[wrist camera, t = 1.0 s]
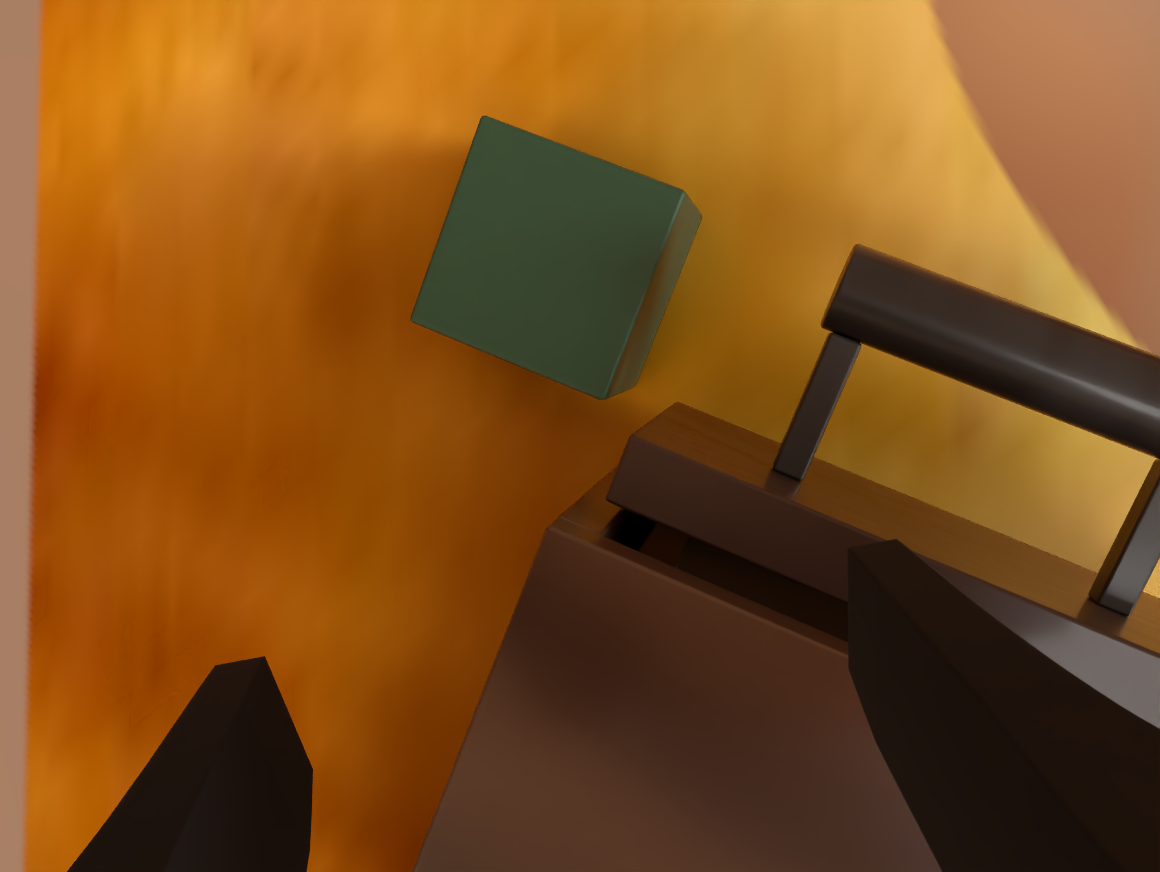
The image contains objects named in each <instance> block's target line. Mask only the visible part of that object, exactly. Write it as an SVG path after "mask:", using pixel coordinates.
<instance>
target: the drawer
mask: <svg viewBox="0 0 1160 872" xmlns="http://www.w3.org/2000/svg"><path fill="white" fill-rule="evenodd" d="M821 327H822V328H823V329H826V330H828V331H831V332H834V333H829V334H828V336H827V338H826V340H825V343H824V345H823V347H822V350H821V352H820V354H819V357H818V359H817V361H816V364H815V366H814V368H813V371H812V373H811V375H810V378H809V380H808V382H807V385H806V387H805V389H804V392H803V394H802V396H801V399H800V401H799V403H798V406H797V408H796V410H795V413H794V415H793V417H792V420H791V422H790V424H789V427H788V429H787V431H786V434H785V436H784V438H783V441H782V443H781V444H780V443H777V442H775V441H773V440H770V439H768V438H765V437H763V436H760V435H758V434H755V433H753V432H751V431H748V430H746V429H743V428H741V427H738V426H736V425H733V424H731V423H728V422H726V421H724V420H721V419H719V418H716V417H714V416H711V415H709V414H706V413H704V412H702V411H699V410H697V409H694V408H692V407H689V406H687V405H684V404H682V403H679V402H676V403H674V404H673V405H672V406H670V407H669V408H668V409H666V410H665V411H663V412H662V413H661V414H659V415H658V416H657V417H655V418H654V419H653V420H651V421H650V422H649V423H647V424H646V425H644V426H643V427H642V428H640V429H639V430H638V431H636V432H635V433H634V434H632V435H631V436H630V437H629V439H628V442H627V444H626V447H625V449H624V452H623V454H622V457H621V459H620V462H619V464H618V467H617V469H616V472H615V474H614V477H613V479H612V482H611V484H610V487H609V489H608V492H607V494H606V500H607V501H608V502H609V503H612V504H614V505H616V506H619V507H621V508H623V509H626V510H628V511H630V512H633V513H635V514H637V515H640V516H642V517H644V518H647V519H649V520H651V521H654V522H656V524H655V525H654V527H653V529H652V530H651V532H650V533H649V535H648V537H647V538H646V540H645V541H644V543H643V545H642V546H641V548H640V549H639V551H638V552H641V553H643V554H645V555H648V556H650V557H652V558H654V559H657V560H659V561H661V562H664V563H666V564H668V565H671V566H673V567H675V568H678V569H680V570H682V571H684V572H687V573H689V574H691V575H694V576H696V577H698V578H701V579H703V580H705V581H708V582H710V583H712V584H715V585H717V586H719V587H721V588H724V589H726V590H728V591H731V592H733V593H735V594H738V595H740V596H742V597H745V598H747V599H749V600H751V601H754V602H756V603H758V604H761V605H763V606H765V607H768V608H770V609H772V610H775V611H777V612H779V613H781V614H784V615H786V616H788V617H791V618H793V619H795V620H798V621H800V622H802V623H805V624H807V625H809V626H812V627H814V628H816V629H818V630H821V631H823V632H825V633H828V634H830V635H832V636H835V637H837V638H839V639H842V640H844V641H846V642H848V548H850V547H855V546H860V545H866V544H871V543H876V542H882V541H887V540H893V539H898V540H899V541H900V542H902V543H903V544H904V545H906V546H907V547H908V548H909V549H911V550H912V551H913V552H914V553H916V554H917V555H918V556H919V557H920V558H922V559H923V560H924V561H925V562H927V563H928V564H929V565H930V566H931V567H933V568H934V569H935V570H936V571H938V572H939V573H940V574H941V575H942V576H944V577H945V578H946V579H947V580H949V581H950V582H951V583H952V584H953V585H955V586H956V587H957V588H958V589H960V590H961V591H962V592H963V593H965V594H966V595H967V596H968V597H970V598H971V599H972V600H973V601H975V602H976V603H977V604H978V605H980V606H981V607H982V608H984V609H985V610H986V611H987V612H989V613H990V614H991V615H993V616H994V617H995V618H996V619H998V620H999V621H1000V622H1002V623H1003V624H1004V625H1006V626H1007V627H1008V628H1010V629H1011V630H1012V631H1014V632H1015V633H1017V634H1018V635H1019V636H1021V637H1022V638H1023V639H1025V640H1026V641H1027V642H1029V643H1030V644H1031V645H1033V646H1034V647H1035V648H1037V649H1038V650H1039V651H1041V652H1042V653H1043V654H1045V655H1046V656H1048V657H1049V658H1051V659H1052V660H1053V661H1055V662H1056V663H1058V664H1059V665H1060V666H1062V667H1063V668H1065V669H1066V670H1068V671H1069V672H1070V673H1072V674H1073V675H1075V676H1076V677H1078V678H1079V679H1081V680H1082V681H1084V682H1085V683H1087V684H1088V685H1090V686H1091V687H1093V688H1094V689H1096V690H1097V691H1099V692H1100V693H1102V694H1103V695H1105V696H1106V697H1108V698H1109V699H1111V700H1113V701H1114V702H1116V703H1117V704H1119V705H1121V706H1122V707H1124V708H1125V709H1127V710H1129V711H1130V712H1132V713H1134V714H1135V715H1137V716H1138V717H1140V718H1142V719H1144V720H1145V721H1147V722H1149V723H1151V724H1152V725H1154V726H1156V727H1158V728H1159V729H1160V598H1157V597H1155V596H1152V595H1150V594H1147V593H1145V592H1142V591H1143V589H1144V587H1145V585H1146V583H1147V582H1148V580H1149V578H1150V576H1151V574H1152V572H1153V570H1154V568H1155V566H1156V564H1157V562H1158V560H1159V558H1160V357H1159V356H1157V355H1154V354H1152V353H1149V352H1146V351H1144V350H1141V349H1138V348H1136V347H1133V346H1130V345H1128V344H1125V343H1122V342H1120V341H1117V340H1114V339H1112V338H1109V337H1106V336H1104V335H1101V334H1098V333H1096V332H1093V331H1090V330H1088V329H1085V328H1082V327H1080V326H1077V325H1074V324H1072V323H1069V322H1066V321H1064V320H1061V319H1058V318H1056V317H1053V316H1050V315H1048V314H1045V313H1042V312H1040V311H1037V310H1034V309H1032V308H1029V307H1026V306H1024V305H1021V304H1018V303H1016V302H1013V301H1010V300H1008V299H1005V298H1002V297H1000V296H997V295H994V294H992V293H989V292H986V291H984V290H981V289H978V288H976V287H973V286H970V285H968V284H965V283H962V282H960V281H957V280H954V279H952V278H949V277H946V276H944V275H941V274H938V273H936V272H933V271H930V270H928V269H925V268H922V267H920V266H917V265H914V264H912V263H909V262H906V261H904V260H901V259H898V258H896V257H893V256H890V255H887V254H885V253H882V252H879V251H877V250H874V249H871V248H869V247H866V246H863V245H861V244H856V245H855V246H854V247H853V249H852V251H851V253H850V255H849V257H848V259H847V261H846V263H845V266H844V268H843V270H842V272H841V275H840V277H839V279H838V281H837V284H836V286H835V288H834V291H833V293H832V296H831V298H830V300H829V303H828V305H827V308H826V310H825V313H824V316H823V318H822V321H821ZM860 343H862V344H864V345H867V346H870V347H872V348H875V349H877V350H880V351H882V352H885V353H888V354H890V355H893V356H895V357H898V358H900V359H903V360H906V361H908V362H911V363H913V364H916V365H918V366H921V367H924V368H926V369H929V370H931V371H934V372H936V373H939V374H942V375H944V376H947V377H949V378H952V379H954V380H957V381H960V382H962V383H965V384H967V385H970V386H972V387H975V388H978V389H980V390H983V391H985V392H988V393H990V394H993V395H996V396H998V397H1001V398H1003V399H1006V400H1008V401H1011V402H1014V403H1016V404H1019V405H1021V406H1024V407H1026V408H1029V409H1032V410H1034V411H1037V412H1039V413H1042V414H1044V415H1047V416H1050V417H1052V418H1055V419H1057V420H1060V421H1062V422H1065V423H1068V424H1070V425H1073V426H1075V427H1078V428H1080V429H1083V430H1086V431H1088V432H1091V433H1093V434H1096V435H1098V436H1101V437H1104V438H1106V439H1109V440H1111V441H1114V442H1116V443H1119V444H1122V445H1124V446H1127V447H1129V448H1132V449H1134V450H1137V451H1139V452H1142V453H1145V454H1147V455H1150V456H1152V457H1155V458H1157V459H1156V460H1155V461H1154V463H1153V465H1152V467H1151V469H1150V471H1149V473H1148V475H1147V477H1146V479H1145V481H1144V483H1143V485H1142V487H1141V489H1140V491H1139V493H1138V495H1137V497H1136V499H1135V501H1134V503H1133V505H1132V507H1131V509H1130V511H1129V513H1128V515H1127V517H1126V519H1125V521H1124V523H1123V525H1122V527H1121V529H1120V531H1119V533H1118V535H1117V537H1116V539H1115V541H1114V543H1113V545H1112V547H1111V549H1110V551H1109V553H1108V555H1107V557H1106V559H1105V561H1104V563H1103V565H1102V567H1101V569H1100V571H1099V573H1096V572H1093V571H1091V570H1089V569H1086V568H1084V567H1081V566H1079V565H1076V564H1074V563H1071V562H1069V561H1067V560H1064V559H1062V558H1059V557H1057V556H1054V555H1052V554H1049V553H1047V552H1044V551H1042V550H1040V549H1037V548H1035V547H1032V546H1030V545H1027V544H1025V543H1022V542H1020V541H1018V540H1015V539H1013V538H1010V537H1008V536H1005V535H1003V534H1000V533H998V532H995V531H993V530H991V529H988V528H986V527H983V526H981V525H978V524H976V523H973V522H971V521H969V520H966V519H964V518H961V517H959V516H956V515H954V514H951V513H949V512H946V511H944V510H942V509H939V508H937V507H934V506H932V505H929V504H927V503H924V502H922V501H920V500H917V499H915V498H912V497H910V496H907V495H905V494H902V493H900V492H897V491H895V490H893V489H890V488H888V487H885V486H883V485H880V484H878V483H875V482H873V481H871V480H868V479H866V478H863V477H861V476H858V475H856V474H853V473H851V472H849V471H846V470H844V469H841V468H839V467H836V466H834V465H831V464H829V463H826V462H824V461H822V460H819V459H817V458H814V454H815V452H816V450H817V448H818V445H819V443H820V441H821V438H822V436H823V434H824V432H825V429H826V427H827V425H828V422H829V420H830V418H831V415H832V413H833V411H834V409H835V406H836V404H837V402H838V399H839V397H840V395H841V392H842V390H843V388H844V386H845V383H846V381H847V379H848V376H849V374H850V372H851V370H852V367H853V365H854V363H855V360H856V358H857V356H858V353H859V351H860V349H861V344H860Z"/></svg>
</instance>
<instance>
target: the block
mask: <svg viewBox="0 0 1160 872" xmlns="http://www.w3.org/2000/svg"><path fill="white" fill-rule="evenodd" d="M701 219H702V215H701V213H700V212H699V211H698V209H697V208H696V206H695V205H694V204H693V202H692V201H691V200H690V198H689V197H688V195H687V194H686V193H685V192H684V191H683V190H682V189H679V188H676V187H674V186H671V185H668V184H666V183H663V182H660V181H658V180H655V179H653V178H650V177H647V176H645V175H642V174H639V173H637V172H634V171H631V170H629V169H626V168H623V167H621V166H618V165H615V164H613V163H610V162H607V161H605V160H602V159H599V158H597V157H594V156H591V155H589V154H586V153H583V152H581V151H578V150H576V149H573V148H570V147H568V146H565V145H562V144H560V143H557V142H554V141H552V140H549V139H546V138H544V137H541V136H538V135H536V134H533V133H530V132H528V131H525V130H522V129H520V128H517V127H514V126H512V125H509V124H506V123H504V122H501V121H499V120H496V119H493V118H491V117H488V116H482V117H481V119H480V121H479V124H478V127H477V130H476V133H475V136H474V138H473V141H472V144H471V147H470V150H469V153H468V156H467V158H466V161H465V164H464V167H463V170H462V173H461V175H460V178H459V181H458V184H457V187H456V190H455V192H454V195H453V198H452V201H451V204H450V207H449V210H448V212H447V215H446V218H445V221H444V224H443V227H442V229H441V232H440V235H439V238H438V241H437V244H436V246H435V249H434V252H433V255H432V258H431V261H430V264H429V266H428V269H427V272H426V275H425V278H424V281H423V283H422V286H421V289H420V292H419V295H418V298H417V300H416V303H415V306H414V309H413V312H412V315H411V319H410V320H411V321H412V322H413V323H415V324H417V325H420V326H422V327H425V328H427V329H430V330H432V331H434V332H437V333H439V334H442V335H444V336H446V337H449V338H451V339H454V340H456V341H459V342H461V343H463V344H466V345H468V346H471V347H473V348H476V349H478V350H480V351H483V352H485V353H488V354H490V355H493V356H495V357H497V358H500V359H502V360H505V361H507V362H509V363H512V364H514V365H517V366H519V367H522V368H524V369H526V370H529V371H531V372H534V373H536V374H539V375H541V376H543V377H546V378H548V379H551V380H553V381H556V382H558V383H560V384H563V385H565V386H568V387H570V388H572V389H575V390H577V391H580V392H582V393H585V394H587V395H589V396H592V397H594V398H597V399H599V400H605V399H607V398H610V397H612V396H614V395H617V394H619V393H621V392H624V391H626V390H628V389H631V388H633V387H634V386H635V385H636V383H637V380H638V378H639V375H640V373H641V370H642V367H643V365H644V362H645V360H646V357H647V355H648V352H649V350H650V347H651V345H652V342H653V340H654V337H655V335H656V332H657V330H658V327H659V325H660V322H661V320H662V317H663V315H664V312H665V310H666V307H667V305H668V302H669V300H670V297H671V294H672V292H673V289H674V287H675V284H676V282H677V279H678V277H679V274H680V272H681V269H682V267H683V264H684V262H685V259H686V257H687V254H688V252H689V249H690V247H691V244H692V242H693V239H694V237H695V234H696V232H697V229H698V227H699V224H700V222H701Z"/></svg>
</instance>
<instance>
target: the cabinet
mask: <svg viewBox="0 0 1160 872" xmlns="http://www.w3.org/2000/svg"><path fill="white" fill-rule="evenodd" d="M617 467H618V466H617ZM617 467H616V468H614V469H613V470H612V471H611V472H610V473H609V474H607V475H606V476H605V477H604V478H603V479H602V480H600V481H599V482H598V483H597V484H596V485H595V486H593V487H592V488H591V489H590V490H589V491H588V492H587V493H585V494H584V495H583V496H582V497H581V498H580V499H578V500H577V501H576V502H575V503H574V504H573V505H571V506H570V507H569V508H568V509H567V510H566V511H564V512H563V513H562V514H561V515H560V516H559V517H558V518H557V519H556V520H555V521H553V522H552V523H551V524H550V525H549V526H548V527H547V528H546V530H545V532H544V535H543V538H542V540H541V543H540V545H539V548H538V550H537V553H536V555H535V558H534V561H533V563H532V566H531V568H530V571H529V573H528V576H527V578H526V581H525V584H524V586H523V589H522V591H521V594H520V596H519V599H518V601H517V604H516V607H515V609H514V612H513V614H512V617H511V619H510V622H509V624H508V627H507V630H506V632H505V635H504V637H503V640H502V642H501V645H500V647H499V650H498V653H497V655H496V658H495V660H494V663H493V665H492V668H491V670H490V673H489V676H488V678H487V681H486V683H485V686H484V688H483V691H482V693H481V696H480V699H479V701H478V704H477V706H476V709H475V711H474V714H473V716H472V719H471V722H470V724H469V727H468V729H467V732H466V734H465V737H464V739H463V742H462V745H461V747H460V750H459V752H458V755H457V757H456V760H455V762H454V765H453V768H452V770H451V773H450V775H449V778H448V780H447V783H446V785H445V788H444V791H443V793H442V796H441V798H440V801H439V803H438V806H437V808H436V811H435V814H434V816H433V819H432V821H431V824H430V826H429V829H428V831H427V834H426V837H425V839H424V842H423V844H422V847H421V849H420V852H419V854H418V857H417V860H416V862H415V865H414V867H413V870H412V872H942V870H941V868H940V867H939V865H938V863H937V861H936V859H935V857H934V855H933V853H932V851H931V849H930V847H929V845H928V843H927V841H926V840H925V838H924V836H923V834H922V832H921V830H920V828H919V826H918V824H917V822H916V820H915V818H914V816H913V815H912V813H911V811H910V809H909V807H908V805H907V803H906V801H905V799H904V797H903V795H902V793H901V791H900V789H899V787H898V785H897V783H896V781H895V780H894V778H893V776H892V774H891V772H890V770H889V768H888V766H887V764H886V762H885V760H884V758H883V756H882V754H881V752H880V750H879V748H878V746H877V744H876V742H875V739H874V736H873V734H872V731H871V729H870V726H869V723H868V721H867V718H866V716H865V713H864V710H863V708H862V705H861V702H860V699H859V697H858V694H857V691H856V688H855V686H854V683H853V680H852V677H851V674H850V672H849V669H848V642H846V641H844V640H842V639H839V638H837V637H835V636H832V635H830V634H828V633H825V632H823V631H821V630H818V629H816V628H814V627H812V626H809V625H807V624H805V623H802V622H800V621H798V620H795V619H793V618H791V617H788V616H786V615H784V614H781V613H779V612H777V611H775V610H772V609H770V608H768V607H765V606H763V605H761V604H758V603H756V602H754V601H751V600H749V599H747V598H745V597H742V596H740V595H738V594H735V593H733V592H731V591H728V590H726V589H724V588H721V587H719V586H717V585H715V584H712V583H710V582H708V581H705V580H703V579H701V578H698V577H696V576H694V575H691V574H689V573H687V572H684V571H682V570H680V569H678V568H675V567H673V566H671V565H668V564H666V563H664V562H661V561H659V560H657V559H654V558H652V557H650V556H648V555H645V554H643V553H641V552H638V551H639V549H640V548H641V546H642V545H643V543H644V541H645V540H646V538H647V537H648V535H649V533H650V532H651V530H652V529H653V527H654V525H655V524H656V522H654V521H651V520H649V519H647V518H644V517H642V516H640V515H637V514H635V513H633V512H630V511H628V510H626V509H623V508H621V507H619V506H616V505H614V504H612V503H609V502H608V501H607V500H606V494H607V492H608V489H609V487H610V484H611V482H612V479H613V477H614V474H615V472H616V469H617Z"/></svg>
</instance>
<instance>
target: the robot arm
mask: <svg viewBox="0 0 1160 872" xmlns="http://www.w3.org/2000/svg"><path fill="white" fill-rule="evenodd" d="M848 669H849V672H850V674H851V677H852V680H853V683H854V686H855V688H856V691H857V694H858V697H859V699H860V702H861V705H862V708H863V710H864V713H865V716H866V718H867V721H868V723H869V726H870V729H871V731H872V734H873V736H874V739H875V742H876V744H877V746H878V748H879V750H880V752H881V754H882V756H883V758H884V760H885V762H886V764H887V766H888V768H889V770H890V772H891V774H892V776H893V778H894V780H895V781H896V783H897V785H898V787H899V789H900V791H901V793H902V795H903V797H904V799H905V801H906V803H907V805H908V807H909V809H910V811H911V813H912V815H913V816H914V818H915V820H916V822H917V824H918V826H919V828H920V830H921V832H922V834H923V836H924V838H925V840H926V841H927V843H928V845H929V847H930V849H931V851H932V853H933V855H934V857H935V859H936V861H937V863H938V865H939V867H940V868H941V870H942V872H1160V729H1159V728H1158V727H1156V726H1154V725H1152V724H1151V723H1149V722H1147V721H1145V720H1144V719H1142V718H1140V717H1138V716H1137V715H1135V714H1134V713H1132V712H1130V711H1129V710H1127V709H1125V708H1124V707H1122V706H1121V705H1119V704H1117V703H1116V702H1114V701H1113V700H1111V699H1109V698H1108V697H1106V696H1105V695H1103V694H1102V693H1100V692H1099V691H1097V690H1096V689H1094V688H1093V687H1091V686H1090V685H1088V684H1087V683H1085V682H1084V681H1082V680H1081V679H1079V678H1078V677H1076V676H1075V675H1073V674H1072V673H1070V672H1069V671H1068V670H1066V669H1065V668H1063V667H1062V666H1060V665H1059V664H1058V663H1056V662H1055V661H1053V660H1052V659H1051V658H1049V657H1048V656H1046V655H1045V654H1043V653H1042V652H1041V651H1039V650H1038V649H1037V648H1035V647H1034V646H1033V645H1031V644H1030V643H1029V642H1027V641H1026V640H1025V639H1023V638H1022V637H1021V636H1019V635H1018V634H1017V633H1015V632H1014V631H1012V630H1011V629H1010V628H1008V627H1007V626H1006V625H1004V624H1003V623H1002V622H1000V621H999V620H998V619H996V618H995V617H994V616H993V615H991V614H990V613H989V612H987V611H986V610H985V609H984V608H982V607H981V606H980V605H978V604H977V603H976V602H975V601H973V600H972V599H971V598H970V597H968V596H967V595H966V594H965V593H963V592H962V591H961V590H960V589H958V588H957V587H956V586H955V585H953V584H952V583H951V582H950V581H949V580H947V579H946V578H945V577H944V576H942V575H941V574H940V573H939V572H938V571H936V570H935V569H934V568H933V567H931V566H930V565H929V564H928V563H927V562H925V561H924V560H923V559H922V558H920V557H919V556H918V555H917V554H916V553H914V552H913V551H912V550H911V549H909V548H908V547H907V546H906V545H904V544H903V543H902V542H900V541H899V540H898V539H893V540H887V541H882V542H876V543H871V544H866V545H860V546H855V547H850V548H848ZM312 783H313V768H312V766H311V764H310V761H309V759H308V757H307V754H306V752H305V750H304V747H303V745H302V743H301V740H300V738H299V736H298V733H297V731H296V728H295V726H294V724H293V721H292V719H291V717H290V714H289V712H288V710H287V707H286V705H285V703H284V700H283V698H282V696H281V693H280V691H279V689H278V686H277V684H276V682H275V679H274V677H273V674H272V672H271V670H270V667H269V665H268V663H267V660H266V658H265V656H264V657H258V658H253V659H248V660H242V661H237V662H231V663H226V664H221V665H215V667H214V668H213V669H212V671H211V672H210V673H209V675H208V676H207V678H206V679H205V680H204V682H203V683H202V685H201V686H200V688H199V689H198V690H197V692H196V693H195V695H194V696H193V698H192V699H191V701H190V702H189V703H188V705H187V706H186V708H185V709H184V711H183V712H182V714H181V715H180V717H179V718H178V720H177V721H176V723H175V724H174V726H173V727H172V728H171V730H170V731H169V733H168V734H167V736H166V737H165V739H164V740H163V742H162V743H161V745H160V746H159V747H158V749H157V750H156V752H155V753H154V755H153V756H152V758H151V759H150V761H149V762H148V763H147V765H146V766H145V768H144V769H143V770H142V772H141V773H140V775H139V776H138V777H137V779H136V780H135V782H134V783H133V784H132V786H131V787H130V789H129V790H128V791H127V793H126V794H125V796H124V797H123V798H122V800H121V801H120V803H119V804H118V805H117V807H116V808H115V810H114V811H113V812H112V814H111V815H110V817H109V818H108V819H107V821H106V822H105V823H104V825H103V826H102V827H101V829H100V830H99V831H98V833H97V834H96V835H95V837H94V838H93V839H92V840H91V842H90V843H89V844H88V846H87V847H86V848H85V849H84V851H83V852H82V853H81V854H80V856H79V857H78V858H77V860H76V861H75V862H74V863H73V865H72V866H71V867H70V869H69V870H68V871H67V872H307V865H308V859H309V852H310V836H311V817H312Z"/></svg>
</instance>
